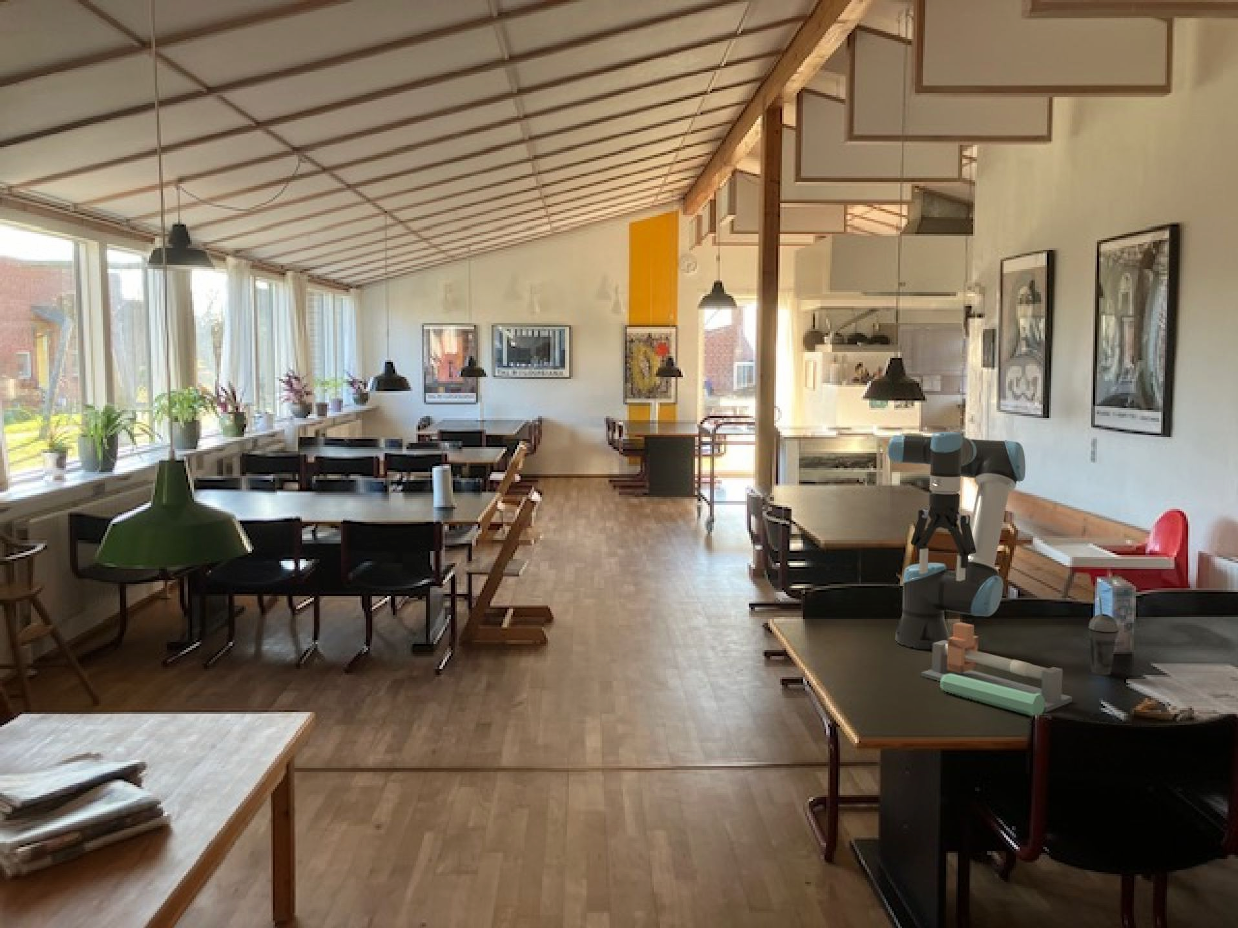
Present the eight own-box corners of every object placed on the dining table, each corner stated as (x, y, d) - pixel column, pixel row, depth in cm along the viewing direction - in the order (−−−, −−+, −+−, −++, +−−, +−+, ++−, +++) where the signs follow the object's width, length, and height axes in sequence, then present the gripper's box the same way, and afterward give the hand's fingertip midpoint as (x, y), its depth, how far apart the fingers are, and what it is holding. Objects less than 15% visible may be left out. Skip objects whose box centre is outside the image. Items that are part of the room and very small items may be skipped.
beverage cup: (1119, 677, 262) (1123, 601, 260) (1089, 675, 264) (1093, 600, 262) (1112, 668, 269) (1115, 595, 267) (1082, 667, 271) (1086, 594, 269)
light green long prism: (939, 667, 250) (1035, 691, 231) (951, 672, 254) (1047, 695, 235) (933, 691, 249) (1029, 716, 230) (945, 695, 253) (1041, 721, 234)
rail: (921, 676, 262) (922, 644, 261) (947, 668, 269) (948, 636, 268) (1046, 712, 235) (1047, 676, 235) (1071, 701, 243) (1073, 666, 242)
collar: (946, 669, 258) (948, 625, 257) (963, 664, 263) (964, 620, 262) (960, 673, 255) (962, 628, 254) (977, 667, 260) (978, 623, 259)
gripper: (898, 488, 267) (895, 571, 269) (976, 497, 249) (973, 586, 251) (915, 486, 271) (912, 567, 273) (993, 495, 253) (989, 582, 256)
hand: (941, 576), depth 262 cm, fingers open, 10 cm apart
